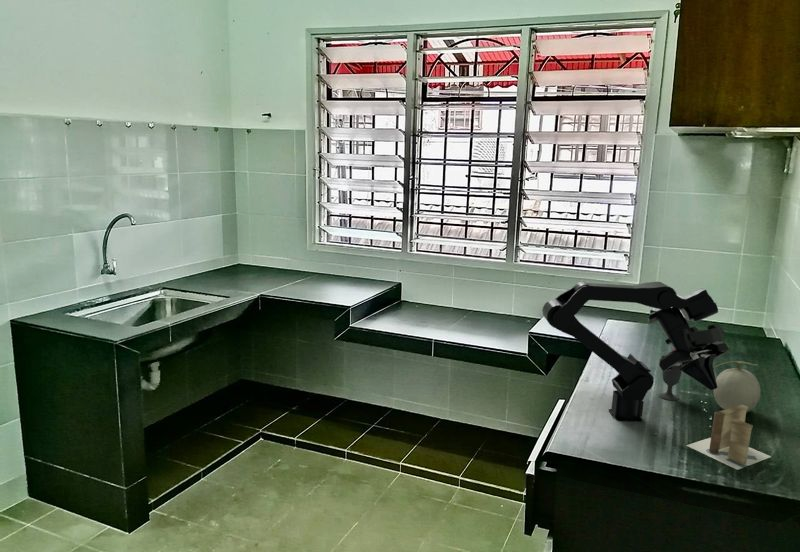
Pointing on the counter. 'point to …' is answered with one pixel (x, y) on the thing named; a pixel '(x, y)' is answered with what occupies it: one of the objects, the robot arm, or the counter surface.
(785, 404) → the counter surface
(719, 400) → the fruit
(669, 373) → the sundae
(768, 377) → the counter surface
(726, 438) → the fence panel
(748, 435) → the wooden plank
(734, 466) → the card
